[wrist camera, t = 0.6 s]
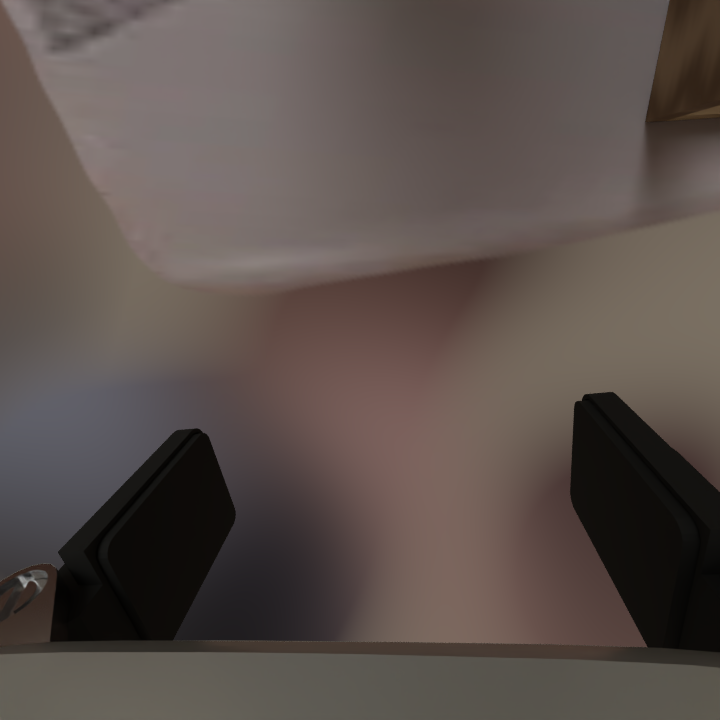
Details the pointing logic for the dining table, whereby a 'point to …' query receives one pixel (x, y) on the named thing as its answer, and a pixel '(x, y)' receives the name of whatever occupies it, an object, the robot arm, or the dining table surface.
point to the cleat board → (688, 63)
